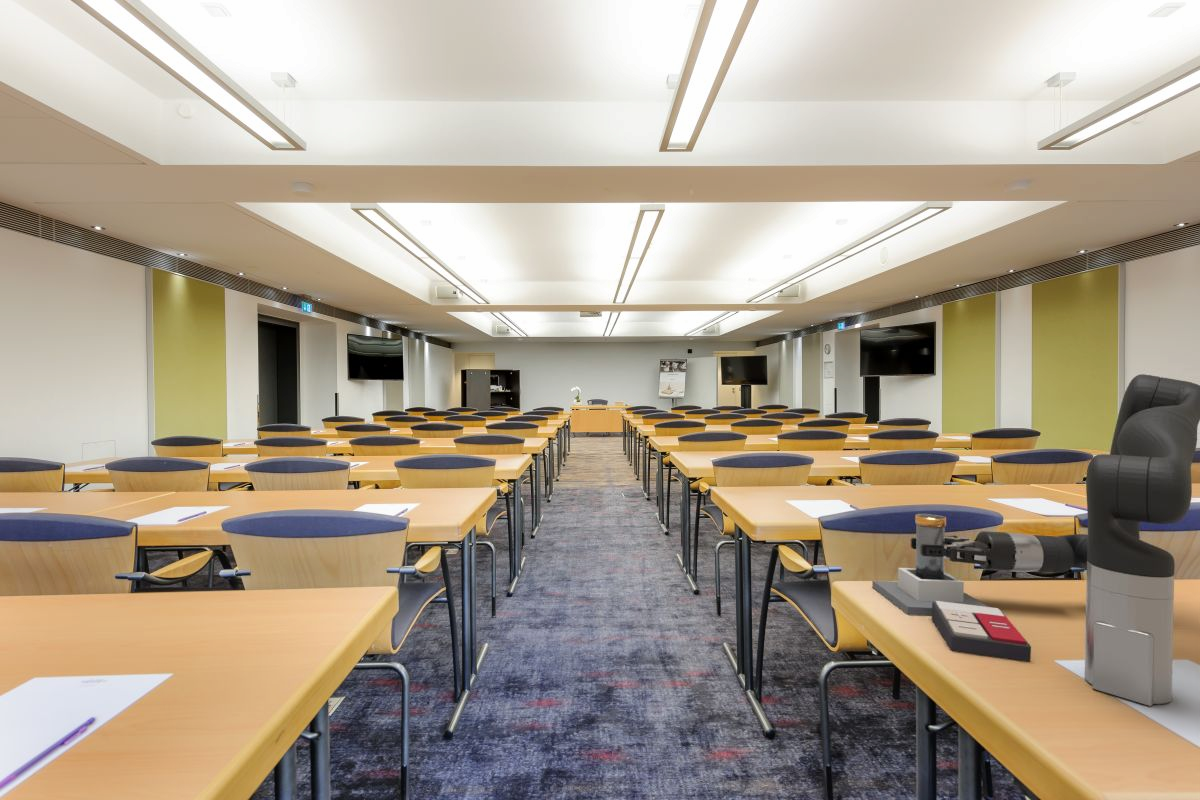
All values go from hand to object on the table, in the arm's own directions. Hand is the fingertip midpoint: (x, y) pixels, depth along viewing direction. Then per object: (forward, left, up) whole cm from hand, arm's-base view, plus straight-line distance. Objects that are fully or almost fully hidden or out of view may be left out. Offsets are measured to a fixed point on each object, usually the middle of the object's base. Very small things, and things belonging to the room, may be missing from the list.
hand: (916, 546), depth 118 cm
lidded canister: (+2, -2, -8) cm, 8 cm away
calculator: (-12, -15, -12) cm, 22 cm away
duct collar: (+2, -2, -11) cm, 11 cm away
